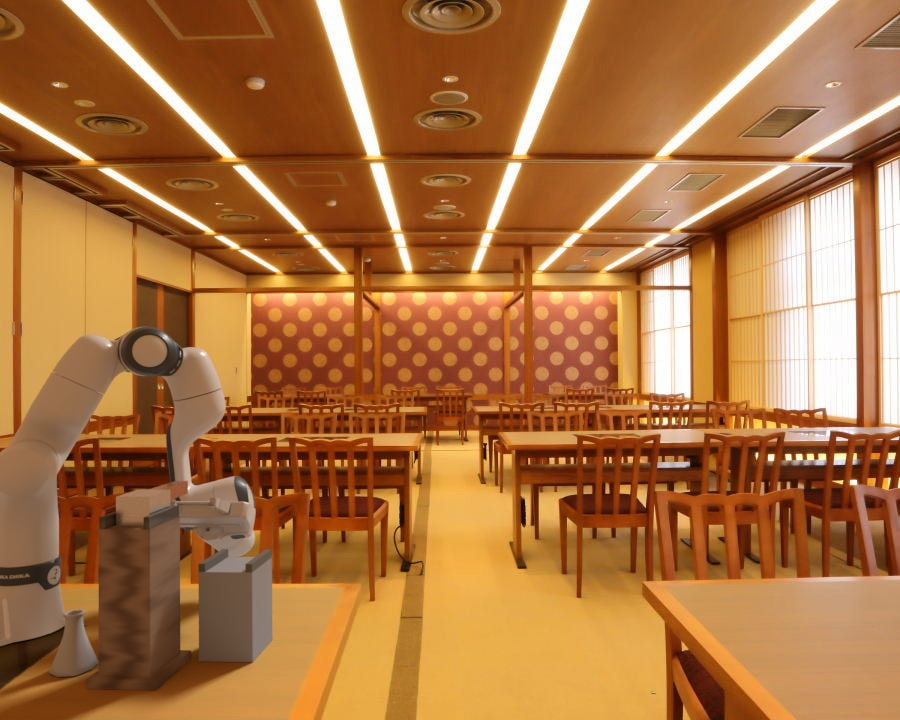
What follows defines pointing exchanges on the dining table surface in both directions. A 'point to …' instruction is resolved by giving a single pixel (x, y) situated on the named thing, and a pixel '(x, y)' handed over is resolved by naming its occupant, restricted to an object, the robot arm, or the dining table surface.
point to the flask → (73, 648)
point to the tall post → (139, 603)
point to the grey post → (235, 607)
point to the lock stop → (146, 502)
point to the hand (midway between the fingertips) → (190, 501)
